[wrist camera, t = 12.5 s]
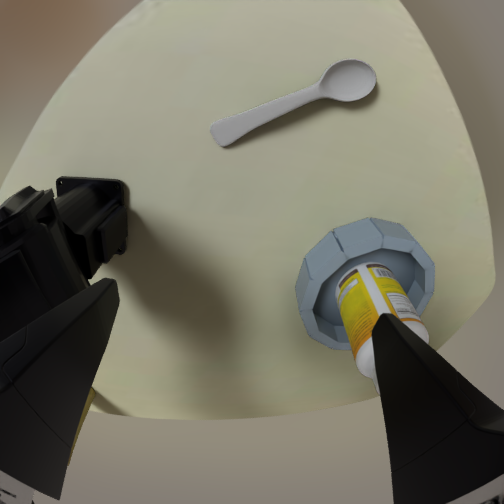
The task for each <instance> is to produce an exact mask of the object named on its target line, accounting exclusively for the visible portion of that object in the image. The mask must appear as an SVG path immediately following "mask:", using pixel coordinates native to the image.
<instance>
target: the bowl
mask: <svg viewBox="0 0 504 504" xmlns="http://www.w3.org/2000/svg"><path fill="white" fill-rule="evenodd" d="M333 230H334V231H333V232H332V231H330V232H329V233H328V234H327V235H326V236H325V237H324V238H323V239H322V240H321V241H320V242H319V243H318V244H317V245H316V246H315V247H314V248H313V249H312V250H311V251H310V252H309V253H308V254H307V255H306V256H305V257H306V258H304V259H303V263H302V266H301V270H300V273H299V276H298V280H297V283H296V286H295V288H296V295H297V301H298V306H299V312H300V315H301V317H302V320H303V323H304V325H305V328H306V330H307V333H308V335H309V336H310V337H311V338H313V339H315V340H316V341H318V342H320V343H322V344H323V345H325V346H327V347H329V348H331V349H332V348H333V349H336V350H352V349H351V345H350V342H349V339H348V336H347V333H346V330H345V327H344V323H343V320H342V317H341V314H340V311H339V308H338V305H337V302H336V298H335V291H336V287H337V284H338V282H339V280H340V279H341V277H342V276H343V275H344V274H345V273H346V272H347V271H348V270H350V269H351V268H353V267H354V266H356V265H359V264H362V263H366V262H378V263H381V264H383V265H385V266H387V267H388V268H389V269H390V270H391V271H392V272H393V274H394V276H395V277H396V279H397V281H398V282H399V284H400V285H401V287H402V288H403V290H404V292H405V293H406V295H407V297H408V298H409V300H410V302H411V303H412V305H413V307H414V308H415V310H416V312H417V314H418V315H419V317H420V315H421V314H422V312H423V310H424V309H425V307H426V305H427V304H428V302H429V300H430V298H431V297H432V295H433V292H434V280H435V265H434V262H433V261H432V260H431V258H430V257H429V256H428V254H427V253H426V252H425V250H424V249H423V248H422V247H421V245H420V244H419V243H418V242H417V241H416V239H415V238H414V237H413V236H412V235H411V234H410V233H409V232H408V231H407V229H406V228H405V227H404V226H403V225H401V224H398V223H394V222H389V221H385V220H380V219H375V218H370V219H369V218H366V219H363V220H360V221H357V222H354V223H351V224H348V225H345V226H342V227H338V228H335V229H333Z"/></svg>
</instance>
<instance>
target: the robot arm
mask: <svg viewBox="0 0 504 504" xmlns="http://www.w3.org/2000/svg"><path fill="white" fill-rule="evenodd" d="M61 181H62V183H63V185H62V184H61ZM115 184H117V185H118V187H119V188H118V189H117V188H116V187H115ZM56 189H57V198H56V199H54V198H53V197H54V193H53V190H52V189H49V190H46V191H44V190H41V191H36V190H35V189H34V188H32V187H31V186H28V187H25V188H23V189H22V190H20V191H19V192H17V193H16V194H14V195H12V196H11V197H10V198H8V199H7V200H6V201H5V202H4V203H3V204H2V205H1V206H0V504H34V502H33V500H32V498H33V495H34V491H35V490H37V491H39V492H41V493H43V494H45V495H48V496H50V497H52V498H54V499H57V500H60V496H61V492H62V487H63V482H64V478H65V474H66V469H67V466H68V462H69V458H70V454H71V450H72V449H71V448H72V446H73V443H74V439H75V436H76V432H77V429H78V426H79V422H80V419H81V416H82V413H83V410H84V407H85V404H86V401H87V398H88V395H89V392H90V389H91V386H92V384H93V381H94V378H95V375H96V373H97V370H98V367H99V365H100V362H101V359H102V357H103V354H104V352H105V349H106V347H107V344H108V341H109V338H110V334H111V330H112V327H113V324H114V320H115V317H116V314H117V310H118V307H119V302H120V299H119V293H118V286H117V282H116V280H114V279H110V278H103V279H101V280H100V281H98V282H96V283H94V284H93V285H90V283H89V281H88V279H92V277H93V276H94V275H95V273H96V272H97V270H98V269H99V268H100V266H101V265H102V263H104V264H107V263H108V262H109V261H110V259H111V258H112V257H113V255H114V254H119V255H122V254H124V252H125V251H126V238H127V236H128V232H127V212H126V208H125V206H124V189H123V183H122V181H120V180H118V179H104V178H87V177H66V176H62V177H60V178H58V179H57V180H56ZM119 247H120V248H122V250H121V249H119ZM371 336H372V344H373V353H374V362H375V370H376V376H377V382H378V387H379V392H380V397H381V402H382V408H383V414H384V421H385V427H386V433H387V441H388V448H389V455H390V464H391V472H392V473H391V476H392V485H393V486H392V487H393V500H394V504H504V410H503V409H501V408H500V407H499V406H497V405H496V404H495V403H494V402H493V401H491V400H490V399H489V398H488V397H487V396H485V395H484V394H483V393H482V392H481V391H479V390H478V389H477V388H476V387H474V386H473V385H472V384H471V383H470V382H469V381H468V380H467V379H466V378H464V377H463V376H462V375H461V374H460V373H459V372H458V371H457V370H456V369H455V368H454V367H452V366H451V365H450V364H449V363H448V362H447V361H446V360H445V359H444V358H443V357H442V356H441V355H439V354H438V353H437V352H436V351H435V350H434V349H433V348H432V347H430V346H429V345H428V344H427V343H426V342H425V341H424V340H423V339H421V338H420V337H419V336H418V335H417V334H416V333H415V332H413V331H412V330H411V329H410V328H409V327H408V326H407V325H405V324H404V323H403V322H402V321H401V320H400V319H398V318H397V317H396V316H395V315H394V314H392V313H382V314H381V315H380V316H379V318H378V320H377V322H376V324H375V325H374V327H373V329H372V334H371Z"/></svg>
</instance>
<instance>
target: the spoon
mask: <svg viewBox="0 0 504 504" xmlns="http://www.w3.org/2000/svg"><path fill="white" fill-rule="evenodd" d="M375 84H376V74H375V71H374V70H373V68H372V67H371V66H370V65H369V64H367V63H366V62H364V61H361V60H358V59H344V60H340V61H337V62H335V63H333V64H332V65H330V66H329V67H328V68H327V69H326V70H325V71H324V73H323V74H322V76H321V78H320V79H319V81H318V82H316V83H315V84H313V85H311V86H309V87H307V88H304V89H302V90H299V91H296V92H294V93H291V94H288V95H285V96H283V97H280V98H277V99H275V100H272V101H270V102H267V103H265V104H262V105H260V106H257V107H255V108H252V109H250V110H247V111H245V112H242V113H239V114H236V115H232V116H229V117H226V118H222V119H220V120H217V121H215V122H213V123H212V124H211V126H210V131H211V134H212V136H213V137H214V139H215V141H216V142H217V144H218V145H220V146H223V147H225V146H228V145H230V144H232V143H233V142H235V141H236V140H238V139H239V138H241V137H242V136H243V135H245V134H246V133H248V132H250V131H251V130H253V129H255V128H257V127H259V126H261V125H263V124H265V123H267V122H269V121H271V120H273V119H275V118H278V117H280V116H282V115H284V114H286V113H288V112H290V111H292V110H294V109H296V108H299V107H301V106H303V105H305V104H307V103H310V102H312V101H315V100H318V99H322V98H330V99H333V100H337V101H341V102H351V101H356V100H359V99H362V98H363V97H365V96H367V95H368V94H369V93H370V92H371V91H372V90H373V88H374V87H375Z"/></svg>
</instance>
